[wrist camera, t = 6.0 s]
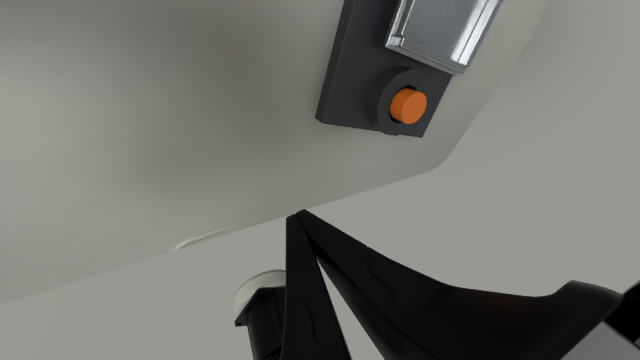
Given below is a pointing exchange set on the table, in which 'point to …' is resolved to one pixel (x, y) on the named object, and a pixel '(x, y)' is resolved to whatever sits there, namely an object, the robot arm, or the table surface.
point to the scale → (374, 74)
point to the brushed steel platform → (441, 31)
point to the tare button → (408, 105)
